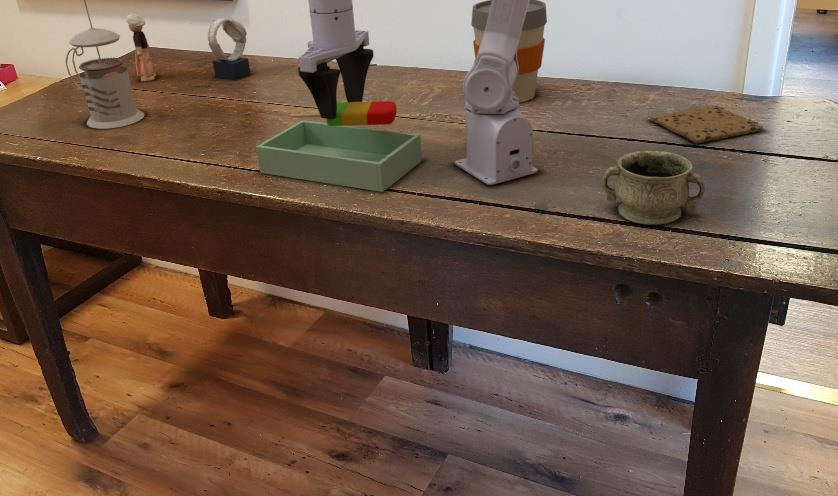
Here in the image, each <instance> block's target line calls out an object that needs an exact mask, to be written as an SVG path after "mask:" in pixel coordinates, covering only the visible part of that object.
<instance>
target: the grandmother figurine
mask: <svg viewBox="0 0 838 496" xmlns="http://www.w3.org/2000/svg"><path fill="white" fill-rule="evenodd" d="M126 23H127V24H128V28H129V30H130V31H131V32H132V33H133V34H132V35H133V36H132V40H133V44H134V48H135V51H134V53H135V56H134V57H135V69H136V70H135V71H136V76H137V77H140V81H141V82H151V81H155V80H156V78H155V77H157V74H156V73H155V72H154V66H153V63H152V59H151V57H150V53H149V49H150V45H149V42H148V39H147V37H146V34H145V32H144V31H143V28H144V26H145V25H146V20H145V19H144V18H143V16H141V15H139V14H137V13H130V14H128V15H127V16H126Z"/></svg>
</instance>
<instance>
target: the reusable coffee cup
mask: <svg viewBox="0 0 838 496" xmlns="http://www.w3.org/2000/svg"><path fill="white" fill-rule="evenodd" d="M491 2H492V0H484V1H479V2H477V3H475V4H473V5H472V10H471V11H472V12H471V23H470V25H471V26H472V28H473V33H474V40H473V42H472V45H473V51H474V60H475V59H476V57H477V55H478V51H479V48H480V45H481V42H482V38H483V35H484V32H485V28H486V24H487V19H488V15H489V11H490V7H491ZM547 23H548V16H547V5H546V3H545V1H542V0H530V1H529V4H528V8H527V12H526V16H525V20H524V24H523V27H522V31H521V35H520V42H519V46H518V50H517V61H518V66H519V74H518V78H517V80H516V82H515V83H514V85H513V88H512V90H513V91H514V93H515V94H516V96H517V98H518V99H519V103H523V102H527V101H530V100H532V99H533V98H534V97H535V95H536V87H537V81H538V74H539V70H540V69H541V67H542V63H543V57H544V50H545V43H546V39H545V37H544V33H545V25H547Z"/></svg>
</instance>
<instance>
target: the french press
mask: <svg viewBox="0 0 838 496" xmlns="http://www.w3.org/2000/svg"><path fill="white" fill-rule="evenodd" d="M83 3H84V7H85V10H86V14H87V18H88V21H89V25H90V27H89V28H88V29H85V30H83V31H81V32H78V33H77V34H75V35H74V36H73V37H72V38H71V39H70V40H69V42H68V44H69V45H71V46H72V48H70V49H69V50H68V52H67V53H66V55H65V67H66V70H67V73H68V76H69V78H70V80H71V81H72V82H73V84H74V85H75V86H76V87H78V89H80V90H82V91H83V93H84V97H85V101H86V105H87V109H88V113H89V117H88V119H87V122H86V125H87V126H88V127H89V128H93V129H113V128H121V127H125V126H129V125H132V124H134V123H137V122H140V121H141V120H142V119H143V118H145V113H144V112H143V111H141V110H140V109H139V108H138V107H137V105H136V104H137V103H136V99H135V98H134V97H135V95H134V92H133V91H132V90H133V87H132V85H131V79H130V75H129V71H128V68H127V67H125V66H122V65H123V63H124V59H122V58H120V57H114V56H113V57H104V58H103V57H101V55H100V50H99V47H103V46H107V45H108V46H109V45H111V44H114V43H116V42H119V41H120V38H121V35H120V34H118V33H117V32H115V31H113V30H110V29H106V28H95V27H93V25H92V21H91V17H90V13H89V9H88V5H87V1H86V0H83ZM79 48H80V49H81V53H78V49H79ZM84 48H96V52H97V56H98V58H95V59H89V60H87V61H84V62H81V63H80V64H79V66H78V68H79V69H80V70H81V71H83V72H81V73H80V74H79V72H78V70H77V67H76V63H75V55H76V56H77V57H81V56H82V55H84ZM72 51H73V52H72ZM71 52H72V60H71V61H72V65H73V68H74V72H75V74H76V76H77V77H78V78H79V80H80V83H81V85H79V84H78V83H76V81H75V80H74V78H73V77H72V74H71V72H70V68H69V65H68V59H69V55H70V53H71ZM85 72H86V73H87V77H88V78H86V75H85ZM111 73H118V74H116V75H111V76H108V77H107V76H106V75H108V74H111ZM105 76H106V77H105ZM81 86H82V87H81ZM107 92H109V93H107ZM91 95H93V96H91ZM93 102H94V103H95V104H94V103H93ZM96 110H97V111H96Z"/></svg>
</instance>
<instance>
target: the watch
mask: <svg viewBox="0 0 838 496" xmlns="http://www.w3.org/2000/svg"><path fill="white" fill-rule="evenodd" d="M221 25H222V30H223V31H224V32H225V34H226V35H227V36H228V37H230V38H231V40H232V41H233V42H234V43H235V47H234V50H233V52H232V54H230V55H226V54H225V52H224V51H223V49H222V47H221V45H220V43H219V42H218V39H217V34H218V30H219V28H220V27H221ZM247 34H248V33H247V30H246V28H245V27H244V25H243V24H242V23H241V22H239V20H236V19H235V18H233V17H225V18H224V17H218V18H216V19H214V20H213V21H212V22H211V23H210V25H209V28H208V31H207V41H208V43H207V44H208V46H209V48H210V50H211V52H212V53H213V55H214V56H215V57H216V58H217V59H215V60H212V66H213V72H214V77H215V78H221V79H226V80H232V81H237V80H239V79H242V78H244V77H247V76H250V75H251V74H252V73H251V68H250V62H249V58H248V57H241V56H242V55H243V53H244V51H245V48H246V43H247V36H248V35H247Z"/></svg>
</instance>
